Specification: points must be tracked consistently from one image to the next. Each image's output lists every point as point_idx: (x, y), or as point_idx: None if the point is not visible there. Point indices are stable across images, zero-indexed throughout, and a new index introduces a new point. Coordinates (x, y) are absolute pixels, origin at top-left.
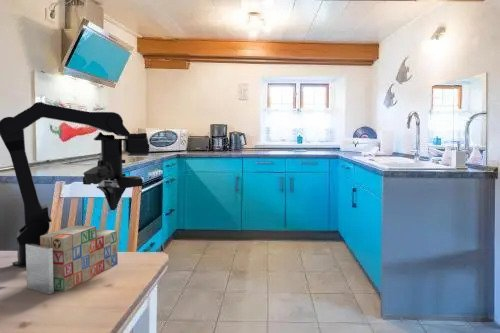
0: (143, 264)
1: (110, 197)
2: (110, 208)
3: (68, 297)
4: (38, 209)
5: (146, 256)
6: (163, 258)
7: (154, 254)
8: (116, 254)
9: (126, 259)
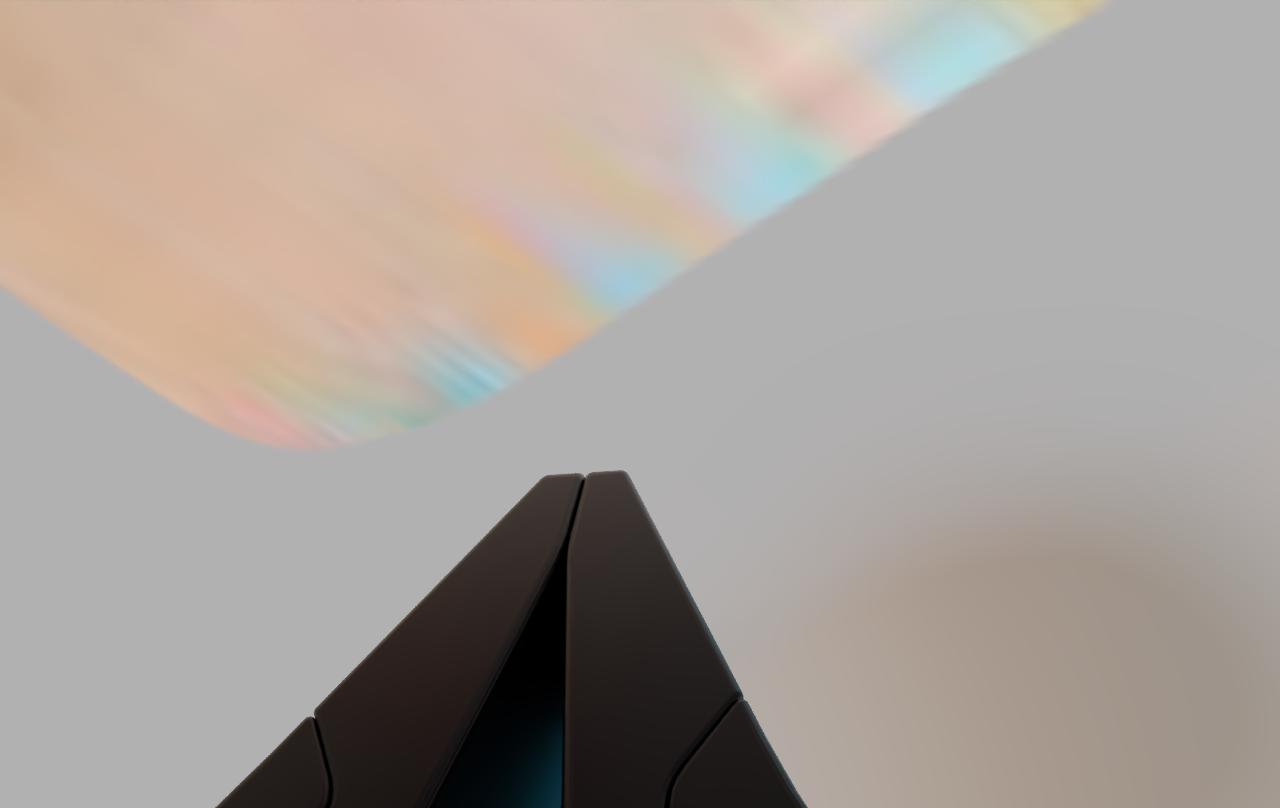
0: (8, 89)
1: (415, 789)
2: (609, 488)
3: None
4: None
5: (289, 312)
6: (111, 355)
7: (304, 400)
8: None
9: (326, 108)
